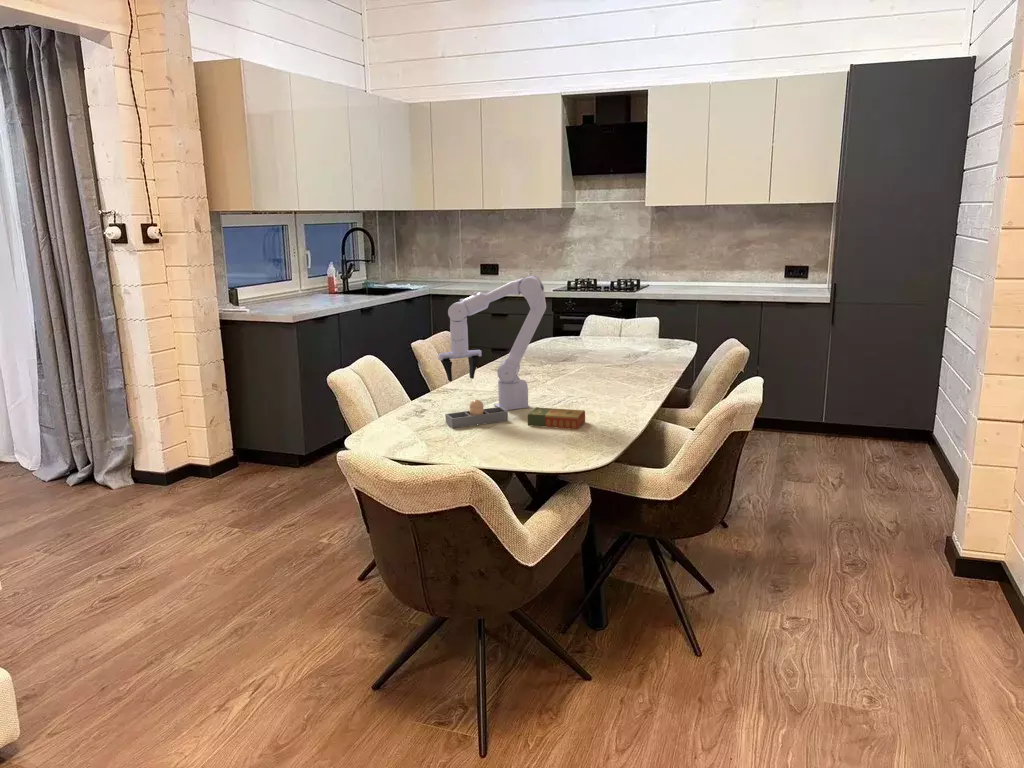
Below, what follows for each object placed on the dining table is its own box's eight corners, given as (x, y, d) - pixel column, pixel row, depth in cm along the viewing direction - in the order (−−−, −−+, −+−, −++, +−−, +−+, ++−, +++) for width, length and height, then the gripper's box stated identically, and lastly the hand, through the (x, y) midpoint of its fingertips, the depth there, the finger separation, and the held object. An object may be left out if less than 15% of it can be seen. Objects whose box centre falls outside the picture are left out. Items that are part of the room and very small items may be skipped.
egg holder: (500, 415, 238) (500, 406, 237) (507, 420, 232) (507, 411, 232) (445, 423, 231) (445, 413, 231) (452, 428, 226) (451, 418, 225)
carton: (578, 430, 222) (578, 416, 221) (527, 426, 227) (526, 413, 226) (585, 423, 229) (585, 409, 228) (535, 419, 235) (535, 406, 234)
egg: (480, 416, 234) (480, 397, 233) (485, 419, 230) (485, 400, 229) (468, 418, 233) (467, 399, 231) (472, 421, 229) (472, 402, 227)
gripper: (441, 342, 239) (443, 384, 242) (484, 338, 244) (485, 379, 248) (435, 339, 245) (437, 379, 248) (476, 335, 251) (478, 375, 254)
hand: (460, 379), depth 248 cm, fingers open, 7 cm apart
